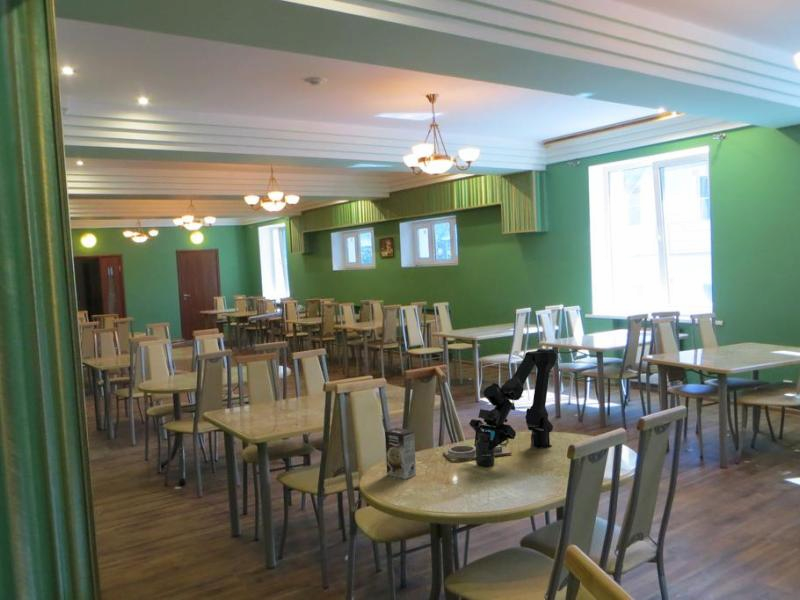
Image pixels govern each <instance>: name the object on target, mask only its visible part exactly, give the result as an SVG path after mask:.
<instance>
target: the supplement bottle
mask: <svg viewBox="0 0 800 600" xmlns="http://www.w3.org/2000/svg"><path fill="white" fill-rule="evenodd" d="M478 438H479V439H478V440H477V441H476V447H475V448H476V460H475V464H476V466H478V467H480V466H482V467H481V468H490V466H491V467H493V466H495V460H496V459H495V458H496V457H494V448H493V449H492V450H489V447H490V444H491V442H492V439H491V432H486V431H483V432H479V433H478Z"/></svg>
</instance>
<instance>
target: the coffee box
mask: <svg viewBox="0 0 800 600" xmlns="http://www.w3.org/2000/svg"><path fill="white" fill-rule="evenodd" d="M384 440H385V442H384V443H385V455H386V456H385V459H386V460H385V462H386V475H387V476H389V477H390V476H391V477H395V478H399V479H403V480H406V479H409V478H411V477H414V476H417V471H416V470H417V469H416V449H415V448H416V444H415V443H416V442H415V440H416V439H415V431H414V430H410V429H409V430H408V429H403V428H399V427H395V428H391V429H388V430H385V431H384Z"/></svg>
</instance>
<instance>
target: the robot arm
mask: <svg viewBox="0 0 800 600" xmlns="http://www.w3.org/2000/svg"><path fill="white" fill-rule="evenodd" d="M556 361H557V353H556V351H555V350H554V349H553V348H537V349H536V350H531V351H526V352H525V355H524V357H523V359H522V360H521V363H520V365H519V366H518V367H517V369H516V371H515V373H514V374H513V376H512V377H511V378H509V379H507V380H506V381H505V382H504V383H503V385H502V386H501V387H500V385H499V384H498V383H496V382H493V383H492V384H491V385H489V386H487V387H486V388H485V389H484V391H483V396H484V398H486V399H487V401H488V402H489V403H490V404H491V406H493V407H494V408H493V409H490V410H489V409H483V408H481V409H479V413H478V415H477V417H478V418H479V419H477V418H476V419H475V418H472V419H471V420H470V421H469V423H468V425H469V426H470V427H471V428H472V429H473V430H474V432H475V435H474V445H473V446H474V447H475V448H476V441H477V440H478V439H479V438H478V433H479V432H483V431H486V430H489V431H495V436H494V438H493V440H492V442H491V444H490V447H489V450H492V449H493V448H495V447H496V446H498V445H501V444H502V443H504V442H506V440H508V441H509V440H514V439H515V437H516V436H517V433H516V430H515V429H514V428H513V427H512V426H511V425H510V424H506V423H508V419H507V418H508V416H509V414H510V412H511V411H515V410H516V406H515V403H514V402H511V401H519V400H520V399H521V397H522V395H523V393H524V391H525V390H524V384H525V382H526V381H527V379H528V377H529V376H530V374H531V373H532V370H533V369H534V367H536V369H537V370H536V377H535V385H534V393H533V399H532V405H530V407H529V408H527V409H526V414H525V417H524V419H525V424H526V426H527V429H528V431H531V434H530V445H531V446H532V447H534V448H537V449H540V448H541V449H543V448H549V447H553V445H552V444H550V433H551V432H553V429H554V425H553V424H552V422H551V421H550V420H549V413H548V410H547V409H546V408H547V407H546V402H547V393H548V387H549V379H550V373H551V370H552V369H553V368H554V366H555V365H556ZM481 419H483V422H484V423H483V422H482V420H481Z"/></svg>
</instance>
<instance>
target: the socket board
mask: <svg viewBox="0 0 800 600" xmlns="http://www.w3.org/2000/svg"><path fill="white" fill-rule="evenodd" d="M443 454H444V455H445V456H444V455H443ZM511 454H512V451H510V450H508V449H507V448H506V447H504V446H502V445H501V444H499V445H498V446H496V447H495V448H494V458H496V457H495V456H499V457H504V456H503V455H507V456H512V455H511ZM442 455H443V456H444V457H445V458H447V459H448V458H449V459H450V461H451V462H452V463H457V462H456V461H460V462H464V461H463V460H468V461H471V460H470V459H476V447H475V446H474V445H466V444H465V445H464V444H463V445H453V446H450V447H448V449H447V451H442ZM449 459H448V460H449Z"/></svg>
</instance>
